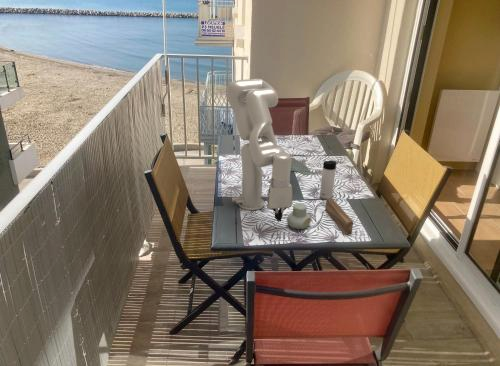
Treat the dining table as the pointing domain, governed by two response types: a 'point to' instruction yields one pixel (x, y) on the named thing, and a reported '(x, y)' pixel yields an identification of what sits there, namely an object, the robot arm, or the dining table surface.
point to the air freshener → (299, 216)
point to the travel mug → (327, 179)
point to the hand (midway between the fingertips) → (278, 219)
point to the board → (339, 216)
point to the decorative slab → (299, 167)
